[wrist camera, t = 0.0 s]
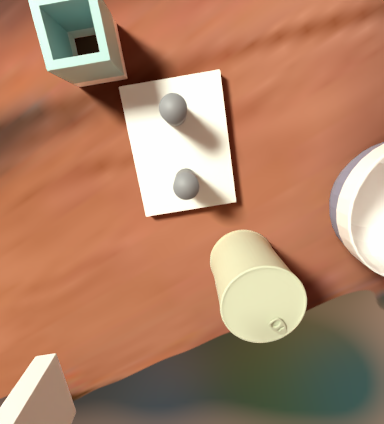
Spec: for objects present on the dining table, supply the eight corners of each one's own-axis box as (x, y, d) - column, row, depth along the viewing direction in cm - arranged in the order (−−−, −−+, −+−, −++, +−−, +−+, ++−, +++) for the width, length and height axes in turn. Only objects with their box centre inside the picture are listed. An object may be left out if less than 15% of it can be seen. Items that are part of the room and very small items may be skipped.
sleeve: (65, 32, 32) (27, -4, 24) (116, 23, 32) (94, -16, 24) (79, 87, 33) (47, 70, 26) (127, 78, 33) (110, 60, 25)
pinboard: (121, 89, 33) (103, 74, 26) (218, 72, 33) (227, 53, 26) (147, 213, 37) (138, 231, 30) (234, 199, 37) (246, 213, 30)
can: (233, 299, 41) (253, 361, 30) (197, 254, 39) (202, 302, 28) (285, 265, 40) (326, 315, 28) (250, 216, 38) (278, 249, 26)
